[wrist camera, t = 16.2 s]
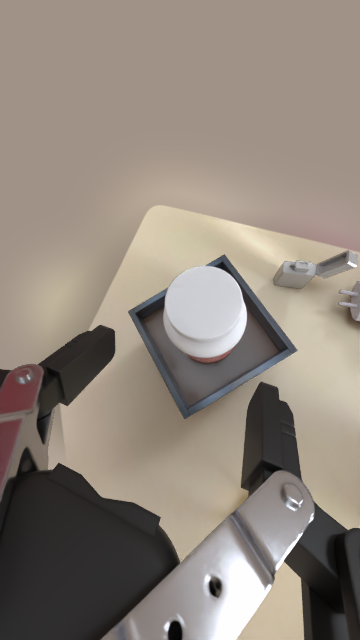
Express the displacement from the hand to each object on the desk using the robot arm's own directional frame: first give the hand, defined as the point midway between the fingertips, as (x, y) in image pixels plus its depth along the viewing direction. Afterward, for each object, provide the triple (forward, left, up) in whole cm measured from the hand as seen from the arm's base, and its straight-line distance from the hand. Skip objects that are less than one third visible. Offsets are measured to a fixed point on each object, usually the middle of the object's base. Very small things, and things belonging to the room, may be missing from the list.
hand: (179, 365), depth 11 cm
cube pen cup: (+3, +3, -21) cm, 21 cm away
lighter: (+20, +4, -21) cm, 29 cm away
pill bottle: (+3, +3, -12) cm, 13 cm away
